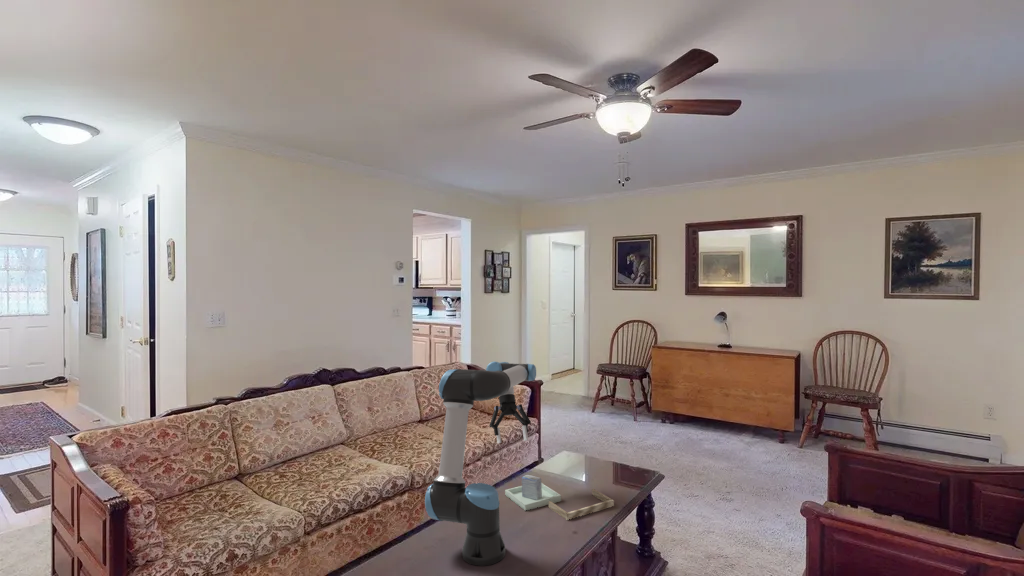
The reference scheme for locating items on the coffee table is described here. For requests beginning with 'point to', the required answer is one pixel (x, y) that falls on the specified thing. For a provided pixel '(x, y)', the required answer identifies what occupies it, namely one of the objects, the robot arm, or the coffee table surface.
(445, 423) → the robot arm
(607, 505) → the frame
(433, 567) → the coffee table surface
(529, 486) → the medicine box
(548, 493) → the sage-green tray
